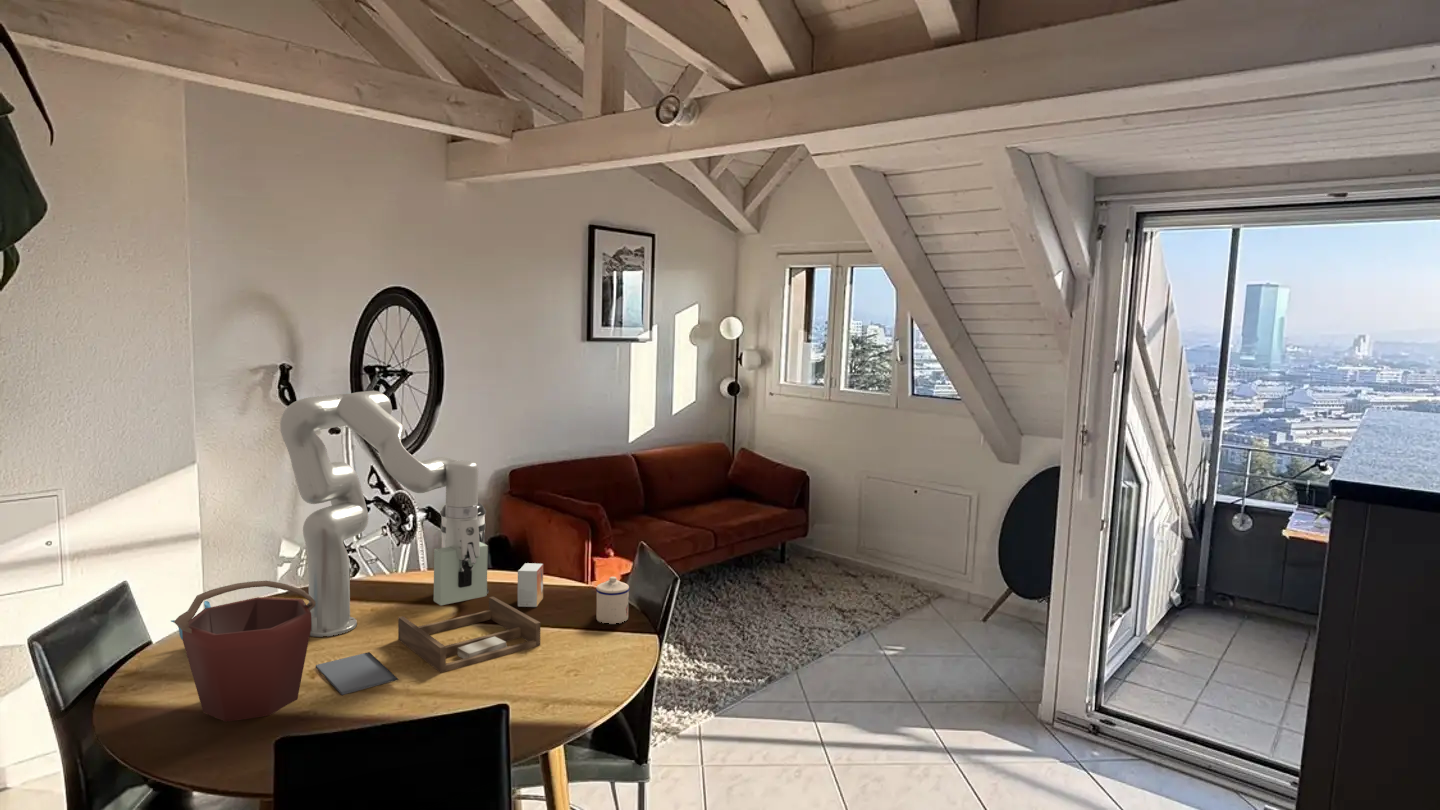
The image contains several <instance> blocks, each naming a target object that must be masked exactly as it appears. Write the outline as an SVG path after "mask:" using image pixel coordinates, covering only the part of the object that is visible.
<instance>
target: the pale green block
mask: <svg viewBox="0 0 1440 810" xmlns="http://www.w3.org/2000/svg"><path fill="white" fill-rule="evenodd" d="M479 543H480V555H479V557H478V558H475V559H476V563H475V564H474V565H473V570H472V585H471V586H467V587H462V588H460V587H458V573H459V571H460V561H459V559H458V558H457V555H456V550H454V549H452V548H450V547H444V548H442V547H440V548H434V549H433V602H434V603H436V604H437V605H439V606H444V605H449V604H450V605H451V604H454V603H460V602H464V601H469V600H473V599H478V598H483V597H487V596H488V595H487V589H488V551H489V549H488V548H489V545H487V544H486V543H485V544H484V543H482V542H479ZM465 558H468V556H465ZM466 562H468V561H464V564H465V563H466Z"/></svg>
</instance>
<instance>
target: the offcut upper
mask: <svg viewBox="0 0 1440 810" xmlns="http://www.w3.org/2000/svg"><path fill="white" fill-rule="evenodd" d="M506 645H507V641H503V640H501V639H499V638H497V637H495V636H494V637H491V638H487V639H484V640H481V641H478V642H475V643H471V644H468V645H465V646H462V647H459V648H458V654H457V657H459V658H460V659H465V658H469V657H472V656H476V655H480V654H483V653H487V652H491V651H495V650H498V649H502V648H506Z"/></svg>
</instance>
